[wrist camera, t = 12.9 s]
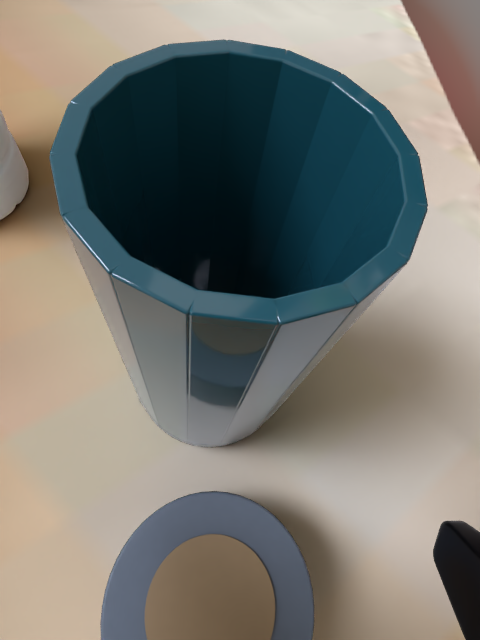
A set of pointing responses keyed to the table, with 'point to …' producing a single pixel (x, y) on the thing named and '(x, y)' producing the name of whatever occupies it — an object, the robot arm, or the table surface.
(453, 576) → the robot arm
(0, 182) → the water bottle
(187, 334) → the pen pot
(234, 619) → the tape roll
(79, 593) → the table surface
